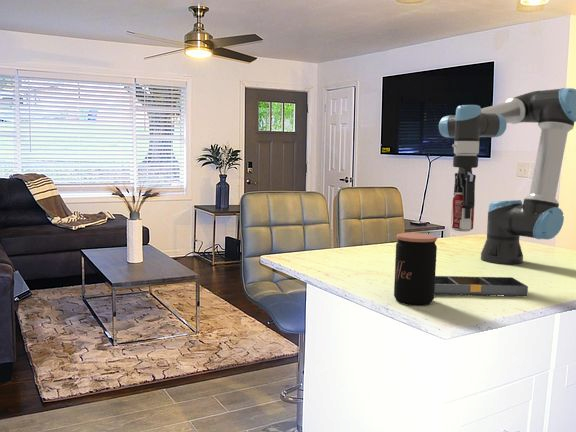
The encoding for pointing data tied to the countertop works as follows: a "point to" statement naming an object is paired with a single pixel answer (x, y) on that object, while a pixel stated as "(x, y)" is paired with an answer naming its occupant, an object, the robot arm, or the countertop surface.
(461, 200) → the soda can
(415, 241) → the coffee jar
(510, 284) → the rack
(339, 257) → the countertop surface
